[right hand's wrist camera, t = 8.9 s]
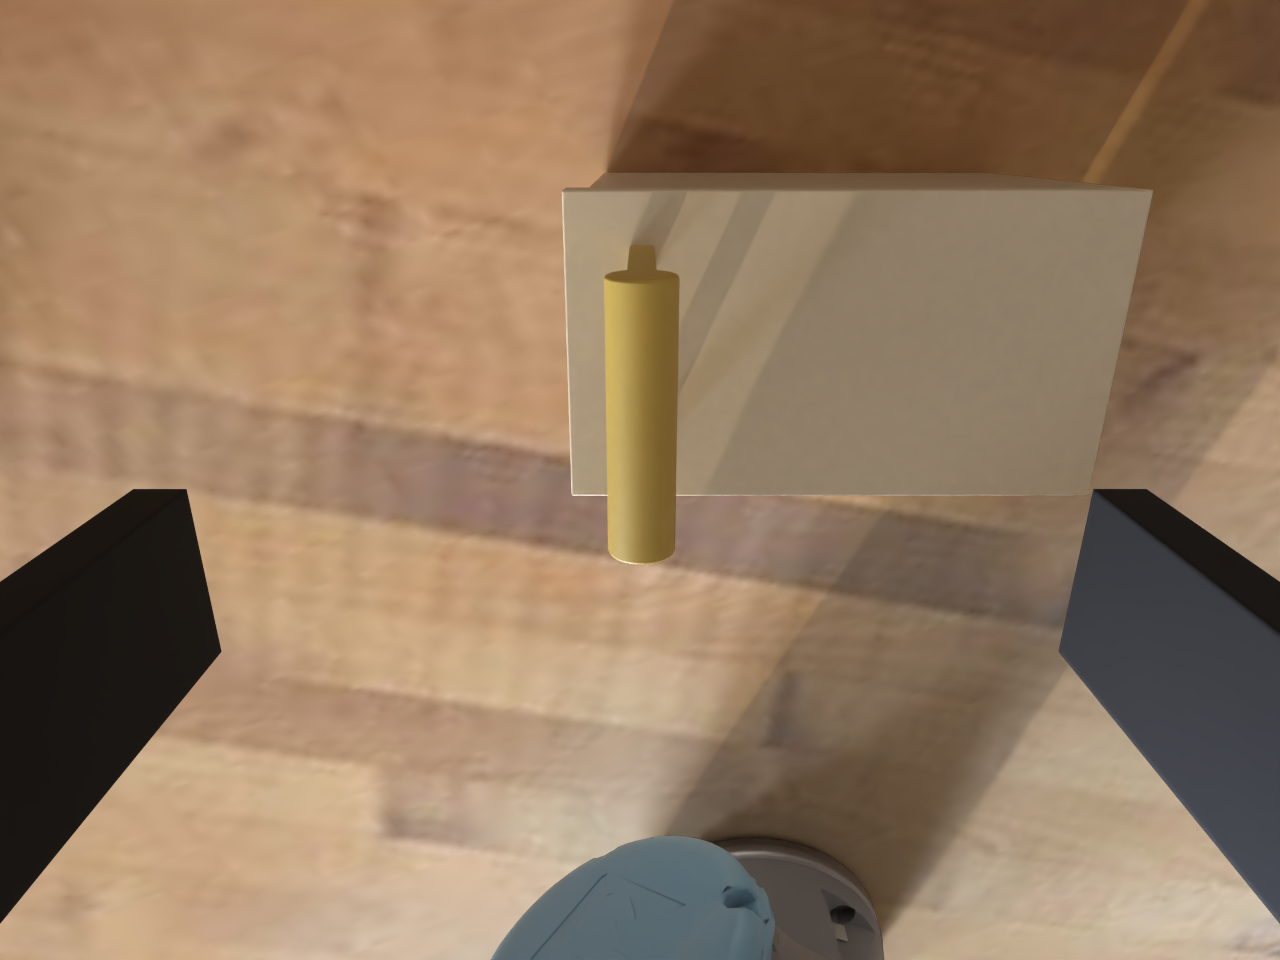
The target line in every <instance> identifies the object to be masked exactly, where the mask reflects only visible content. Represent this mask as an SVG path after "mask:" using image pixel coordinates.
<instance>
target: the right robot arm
mask: <svg viewBox="0 0 1280 960" xmlns="http://www.w3.org/2000/svg"><path fill="white" fill-rule="evenodd" d="M220 653H221V648H220V643H219V638H218V634H217V629H216V624H215V620H214V615H213V610H212V606H211V601H210V596H209V592H208V587H207V582H206V578H205V573H204V569H203V564H202V559H201V555H200V550H199V545H198V541H197V536H196V531H195V527H194V522H193V517H192V513H191V508H190V503H189V499H188V494H187V489H133V490H132V491H130V492H129V493H127V494H126V495H124V496H123V497H122V498H120V499H119V500H117V501H116V502H114V503H113V504H112V505H110V506H109V507H107V508H106V509H104V510H103V511H101V512H100V513H99V514H97V515H96V516H94V517H93V518H91V519H90V520H88V521H87V522H86V523H84V524H83V525H81V526H80V527H78V528H77V529H76V530H74V531H73V532H71V533H70V534H68V535H67V536H65V537H64V538H63V539H61V540H60V541H58V542H57V543H55V544H54V545H53V546H51V547H50V548H48V549H47V550H45V551H44V552H42V553H41V554H40V555H38V556H37V557H35V558H34V559H32V560H31V561H30V562H28V563H27V564H25V565H24V566H22V567H21V568H19V569H18V570H17V571H15V572H14V573H12V574H11V575H9V576H8V577H7V578H5V579H4V580H2V581H1V582H0V923H1V922H2V921H3V920H4V918H5V917H6V916H7V915H8V913H9V912H10V911H11V910H12V908H13V907H14V906H15V905H16V904H17V902H18V901H19V900H20V899H21V897H22V896H23V895H24V894H25V892H26V891H27V890H28V889H29V888H30V886H31V885H32V884H33V883H34V881H35V880H36V879H37V878H38V876H39V875H40V874H41V873H42V872H43V870H44V869H45V868H46V867H47V865H48V864H49V863H50V862H51V860H52V859H53V858H54V857H55V856H56V854H57V853H58V852H59V851H60V849H61V848H62V847H63V846H64V845H65V843H66V842H67V841H68V840H69V838H70V837H71V836H72V835H73V833H74V832H75V831H76V830H77V829H78V827H79V826H80V825H81V824H82V822H83V821H84V820H85V819H86V817H87V816H88V815H89V814H90V813H91V811H92V810H93V809H94V808H95V806H96V805H97V804H98V803H99V801H100V800H101V799H102V798H103V797H104V795H105V794H106V793H107V792H108V790H109V789H110V788H111V787H112V786H113V784H114V783H115V782H116V781H117V779H118V778H119V777H120V776H121V774H122V773H123V772H124V771H125V770H126V768H127V767H128V766H129V765H130V763H131V762H132V761H133V760H134V758H135V757H136V756H137V755H138V754H139V752H140V751H141V750H142V749H143V747H144V746H145V745H146V744H147V742H148V741H149V740H150V739H151V738H152V736H153V735H154V734H155V733H156V731H157V730H158V729H159V728H160V726H161V725H162V724H163V723H164V722H165V720H166V719H167V718H168V717H169V715H170V714H171V713H172V712H173V711H174V709H175V708H176V707H177V706H178V704H179V703H180V702H181V701H182V699H183V698H184V697H185V696H186V695H187V693H188V692H189V691H190V690H191V688H192V687H193V686H194V685H195V683H196V682H197V681H198V680H199V679H200V677H201V676H202V675H203V674H204V672H205V671H206V670H207V669H208V667H209V666H210V665H211V664H212V663H213V661H214V660H215V659H216V658H217V656H218V655H219V654H220ZM1059 653H1060V654H1061V655H1062V656H1063V658H1064V659H1065V660H1066V661H1067V663H1068V664H1069V665H1070V666H1071V667H1072V669H1073V670H1074V671H1075V672H1076V674H1077V675H1078V676H1079V677H1080V679H1081V680H1082V681H1083V682H1084V683H1085V685H1086V686H1087V687H1088V688H1089V690H1090V691H1091V692H1092V693H1093V695H1094V696H1095V697H1096V698H1097V699H1098V701H1099V702H1100V703H1101V704H1102V706H1103V707H1104V708H1105V709H1106V711H1107V712H1108V713H1109V714H1110V715H1111V717H1112V718H1113V719H1114V720H1115V722H1116V723H1117V724H1118V725H1119V726H1120V728H1121V729H1122V730H1123V731H1124V733H1125V734H1126V735H1127V736H1128V738H1129V739H1130V740H1131V741H1132V742H1133V744H1134V745H1135V746H1136V747H1137V749H1138V750H1139V751H1140V752H1141V754H1142V755H1143V756H1144V757H1145V758H1146V760H1147V761H1148V762H1149V763H1150V765H1151V766H1152V767H1153V768H1154V770H1155V771H1156V772H1157V773H1158V774H1159V776H1160V777H1161V778H1162V779H1163V781H1164V782H1165V783H1166V784H1167V786H1168V787H1169V788H1170V789H1171V790H1172V792H1173V793H1174V794H1175V795H1176V797H1177V798H1178V799H1179V800H1180V801H1181V803H1182V804H1183V805H1184V806H1185V808H1186V809H1187V810H1188V811H1189V813H1190V814H1191V815H1192V816H1193V817H1194V819H1195V820H1196V821H1197V822H1198V824H1199V825H1200V826H1201V827H1202V829H1203V830H1204V831H1205V832H1206V833H1207V835H1208V836H1209V837H1210V838H1211V840H1212V841H1213V842H1214V843H1215V845H1216V846H1217V847H1218V848H1219V849H1220V851H1221V852H1222V853H1223V854H1224V856H1225V857H1226V858H1227V859H1228V861H1229V862H1230V863H1231V864H1232V865H1233V867H1234V868H1235V869H1236V870H1237V872H1238V873H1239V874H1240V875H1241V876H1242V878H1243V879H1244V880H1245V881H1246V883H1247V884H1248V885H1249V886H1250V888H1251V889H1252V890H1253V891H1254V892H1255V894H1256V895H1257V896H1258V897H1259V899H1260V900H1261V901H1262V902H1263V904H1264V905H1265V906H1266V907H1267V908H1268V910H1269V911H1270V912H1271V913H1272V915H1273V916H1274V917H1275V918H1276V920H1277V921H1278V922H1279V923H1280V582H1279V581H1278V580H1276V579H1275V578H1273V577H1272V576H1271V575H1269V574H1268V573H1266V572H1265V571H1263V570H1262V569H1261V568H1259V567H1258V566H1256V565H1255V564H1253V563H1252V562H1250V561H1249V560H1248V559H1246V558H1245V557H1243V556H1242V555H1240V554H1239V553H1238V552H1236V551H1235V550H1233V549H1232V548H1230V547H1229V546H1227V545H1226V544H1225V543H1223V542H1222V541H1220V540H1219V539H1217V538H1216V537H1215V536H1213V535H1212V534H1210V533H1209V532H1207V531H1206V530H1204V529H1203V528H1202V527H1200V526H1199V525H1197V524H1196V523H1194V522H1193V521H1192V520H1190V519H1189V518H1187V517H1186V516H1184V515H1183V514H1181V513H1180V512H1179V511H1177V510H1176V509H1174V508H1173V507H1171V506H1170V505H1168V504H1167V503H1166V502H1164V501H1163V500H1161V499H1160V498H1158V497H1157V496H1156V495H1154V494H1153V493H1151V492H1150V491H1148V490H1147V489H1093V494H1092V499H1091V503H1090V508H1089V513H1088V517H1087V522H1086V527H1085V531H1084V536H1083V541H1082V545H1081V550H1080V555H1079V559H1078V564H1077V569H1076V573H1075V578H1074V582H1073V587H1072V592H1071V596H1070V601H1069V606H1068V610H1067V615H1066V620H1065V624H1064V629H1063V634H1062V638H1061V643H1060V648H1059Z"/></svg>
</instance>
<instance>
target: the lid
mask: <svg viewBox="0 0 1280 960" xmlns="http://www.w3.org/2000/svg"><path fill="white" fill-rule="evenodd" d="M1152 195H1153V190H1150V189H1140V188H565V189H564V190H562V212H563V242H564V273H565V304H566V335H567V366H568V396H569V427H570V458H571V489H572V495H580V496H607V503H608V550H609V552H610V554H611V555H612V556H613V557H614V558H615V559H617V560H619V561H622V562H625V563H630V564H640V565H643V564H654V563H658V562H661V561H664V560H666V559H668V558H669V557H671V556H672V554H673V553H674V550H675V522H676V496H1088V495H1089V491H1090V486H1091V481H1092V477H1093V472H1094V467H1095V462H1096V458H1097V453H1098V448H1099V444H1100V439H1101V434H1102V430H1103V425H1104V420H1105V416H1106V411H1107V406H1108V402H1109V397H1110V392H1111V387H1112V383H1113V378H1114V373H1115V369H1116V364H1117V359H1118V355H1119V350H1120V345H1121V341H1122V336H1123V331H1124V327H1125V322H1126V317H1127V312H1128V308H1129V303H1130V298H1131V294H1132V289H1133V284H1134V280H1135V275H1136V270H1137V266H1138V261H1139V256H1140V251H1141V247H1142V242H1143V237H1144V233H1145V228H1146V223H1147V219H1148V214H1149V209H1150V205H1151V200H1152Z"/></svg>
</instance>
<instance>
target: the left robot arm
mask: <svg viewBox="0 0 1280 960" xmlns="http://www.w3.org/2000/svg"><path fill="white" fill-rule="evenodd" d="M491 960H884V952H883V940H882V935H881V930H880V927H879V923H878V920H877V917H876V913H875V910H874V907H873V904H872V901H871V899H870V897H869V895H868V893H867V891H866V890H865V888H864V887H863V885H862V884H861V883H860V882H859V880H858V879H857V878H856V877H855V876H854V875H853V874H852V873H851V872H850V871H849V870H848V869H847V868H845V867H844V866H843V865H841V864H840V863H839V862H837V861H836V860H834V859H832V858H831V857H829V856H827V855H825V854H823V853H821V852H819V851H817V850H814V849H811V848H809V847H806V846H803V845H799V844H796V843H792V842H787V841H782V840H774V839H762V838H745V839H733V840H725V841H720V842H715V843H711V842H708V841H705V840H701V839H697V838H692V837H685V836H658V837H652V838H646V839H642V840H638V841H634V842H631V843H627V844H624V845H622V846H620V847H617V848H616V849H615V850H613V851H612V852H610V853H608V854H606V855H605V856H602V857H599V858H593V859H591V860H589V861H588V862H586V863H584V864H583V865H581V866H579V867H578V868H576V869H575V870H573V871H572V872H571V873H569V874H568V875H567V876H565V877H564V878H563V879H561V880H560V881H559V882H557V883H556V884H555V885H554V886H552V887H551V888H550V889H549V890H548V891H546V892H545V893H544V894H543V895H542V896H541V897H540V898H539V899H538V900H537V901H536V902H535V903H534V904H533V905H532V906H531V907H530V908H529V909H528V910H527V911H526V912H525V914H524V915H523V916H522V917H521V918H520V919H519V920H518V922H517V923H516V924H515V925H514V926H513V928H512V929H511V930H510V932H509V933H508V934H507V935H506V937H505V938H504V940H503V941H502V942H501V944H500V945H499V947H498V948H497V950H496V951H495V953H494V955H493V956H492V958H491Z"/></svg>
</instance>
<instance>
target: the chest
mask: <svg viewBox="0 0 1280 960" xmlns="http://www.w3.org/2000/svg"><path fill="white" fill-rule="evenodd" d="M590 188H1129V187H1120V186H1110V185H1101V184H1091V183H1081V182H1072V181H1062V180H1052V179H1043V178H1033V177H1023V176H1014V175H1004V174H993V173H604V174H603V175H602V176H601V177H600V178H599V179H598V180H597V181H596V182H595V183H594V184H593V185H592V186H591V187H590Z"/></svg>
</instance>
